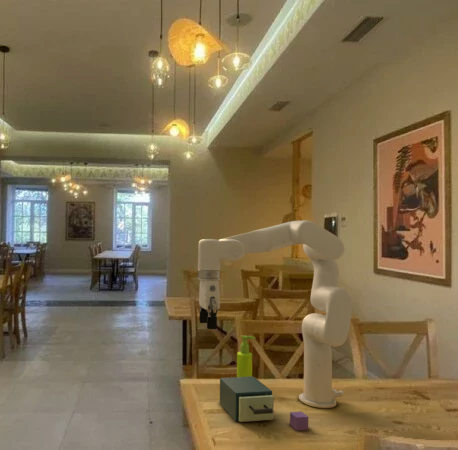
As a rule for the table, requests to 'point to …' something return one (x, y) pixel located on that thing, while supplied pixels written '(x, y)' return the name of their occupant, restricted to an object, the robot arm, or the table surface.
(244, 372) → the soap dispenser
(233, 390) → the small teal cabinet
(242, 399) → the drawer
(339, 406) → the table surface
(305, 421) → the purple rounded cube
